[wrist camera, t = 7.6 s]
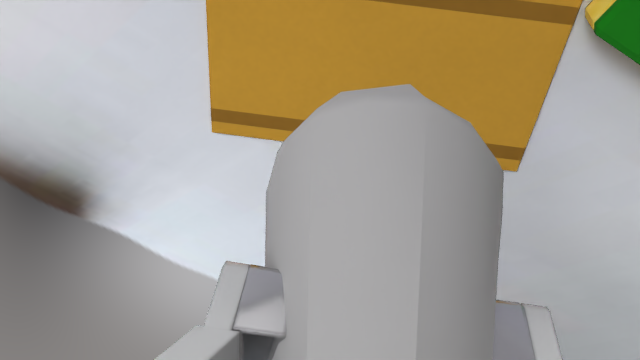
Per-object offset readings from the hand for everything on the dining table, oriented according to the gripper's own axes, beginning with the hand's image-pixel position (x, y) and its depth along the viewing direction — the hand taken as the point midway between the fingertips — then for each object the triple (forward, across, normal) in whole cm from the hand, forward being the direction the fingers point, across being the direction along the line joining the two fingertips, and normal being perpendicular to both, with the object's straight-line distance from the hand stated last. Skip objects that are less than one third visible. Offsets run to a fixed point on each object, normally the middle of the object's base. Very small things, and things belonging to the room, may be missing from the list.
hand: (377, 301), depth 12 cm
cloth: (+23, 0, +7) cm, 24 cm away
